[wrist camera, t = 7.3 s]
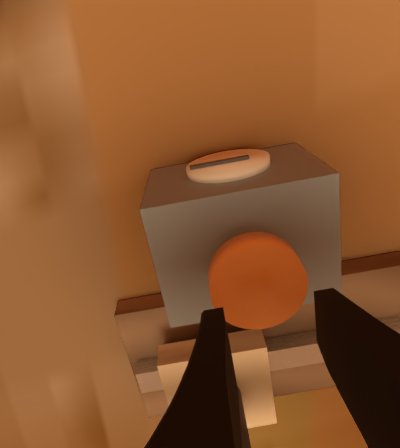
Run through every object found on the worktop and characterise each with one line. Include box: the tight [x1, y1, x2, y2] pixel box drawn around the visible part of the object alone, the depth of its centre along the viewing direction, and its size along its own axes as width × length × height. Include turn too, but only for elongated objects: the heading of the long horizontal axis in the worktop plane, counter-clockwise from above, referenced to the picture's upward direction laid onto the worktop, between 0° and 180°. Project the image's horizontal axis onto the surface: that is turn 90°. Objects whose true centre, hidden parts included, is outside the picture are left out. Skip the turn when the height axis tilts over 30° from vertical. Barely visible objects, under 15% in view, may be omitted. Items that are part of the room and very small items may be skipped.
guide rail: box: [135, 315, 400, 393], centre depth 23 cm, size 2×21×1 cm, turn 100°
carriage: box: [157, 329, 277, 448], centre depth 20 cm, size 6×6×8 cm
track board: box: [114, 251, 400, 418], centre depth 24 cm, size 9×22×2 cm, turn 100°
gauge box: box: [140, 143, 342, 328], centre depth 18 cm, size 6×8×6 cm
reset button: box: [208, 232, 308, 330], centre depth 14 cm, size 4×4×2 cm
